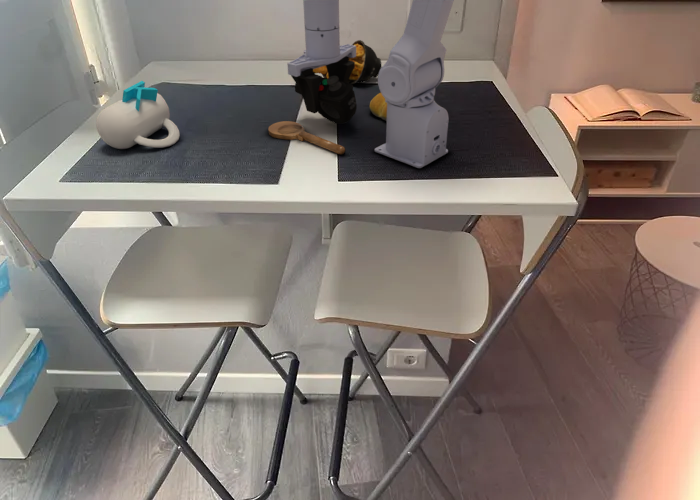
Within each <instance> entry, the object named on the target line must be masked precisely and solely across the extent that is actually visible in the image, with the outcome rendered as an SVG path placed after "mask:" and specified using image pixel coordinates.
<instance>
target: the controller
mask: <svg viewBox="0 0 700 500" xmlns="http://www.w3.org/2000/svg"><path fill="white" fill-rule="evenodd" d="M294 92H295V93H297V94H299V95H300V96H302V94H301V92H300V90H299V88H298V86H297V84H296V82H295V83H294ZM357 107H358V104H357V99H356V93H355V91H354V84H350V83H346V82H343V81H340V80H339V78H338V77H337V76H331V77H329V78H328V79H327V78H324V77H323V76H322V79H321V82H320V86H319V93H318V112H317V113H318V114H319V115H320V116H322V117H323V118H324V119H326V120H327V121H328V122H331V123H333V124H336V125H337V124H338V125H343V124H346V123H348V122H350V120H351V119H352V118H353V117H354V115H355V114H356V112H357Z"/></svg>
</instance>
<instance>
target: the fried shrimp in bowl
mask: <svg viewBox="0 0 700 500" xmlns="http://www.w3.org/2000/svg"><path fill="white" fill-rule="evenodd" d="M351 45H354V46H356V57H354V58H350V57H349V60H350V61H353V62H355V68H354V69H353V71H352V73H351V75H350V77H349V79H348V82H347V83H349V84H351V85H356V84H359V83H360V84H361V83H366V82H368V81H369V80H371V79H372V78H378V74H379V71H380V69H381V67H382V60H381V58H380V57H378V56H377V54H376V52H375V50H374V49H373V48H372V47H370V46H369V45H367V44H366V43H365V42H364V41H363V40H361V39H358V40H355V41H354V42H353V43H352V44H351ZM313 72H315V74H321V76H322V77H323V78H327V79H328V78H329V76H328V71H327V68H326V65H325V66H322V67H319V68H316V69H313Z"/></svg>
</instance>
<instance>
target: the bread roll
mask: <svg viewBox="0 0 700 500" xmlns="http://www.w3.org/2000/svg"><path fill="white" fill-rule="evenodd" d="M369 111H370V112H371V114H372V115H374V116H375V117H377V118H380V119H382V120H384V121H386V122H387V102H385V98H384V97H383V95H382V94H381V92H379V93H377V94H376V95H375V96H373V98H372V99H371V100H370V102H369Z"/></svg>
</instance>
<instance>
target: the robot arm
mask: <svg viewBox="0 0 700 500" xmlns="http://www.w3.org/2000/svg"><path fill="white" fill-rule="evenodd" d="M302 1H303V3H302V4H303V21H304V40H305V41H304V42H305V49H304V50H303V53H302V55H300V56H299V57H297V58H295V59H293V60H291V61H288V62H287V75H288V76H290V77H291V78H292V79H293V81H294V82H295V83H296V84H297V86H298V88H299V90H300V92H301V94H302V95H301V94H300V95H301V97H302V99H303V102H304V105H305V109H306V111H307V112H309V113H312V114H317V113H318V93H319V86H320V82H321V79H322V77H323V75H319V74H317V73H315V72H313V69H316V68H319V67H322V66H325V65H326V68H327V71H328V76H329V77H331V76H337V77H338V78H339V80H340V81H343V82H346V83H347V82H348V79H349V77H350V75H351V73H352V71H353V69H354V68H355V62H353V61H350V60H349V57H350V58H354V57H356V46H354V45H352V44H350V43H347V44H343V45H341V40H340V37H341V36H340V0H302ZM454 2H455V0H412V3H411V5H410V10H409V13H408V17H407V20H406V23H405V27H404V31H403V34H402V36H401V37H400V38H399V39H398V40H397V42H396V43H395V44H394V45H393V46H392V48H391V49H390V51H389V54H388V57H387V60H386V62H385V63H384V64H383V65H381V69H380V71H379V74H378V76H377V85H378V89H379V91H380V92H379V93H381V94H382V95H383V97H384V98H385V102H387V121H386V128H385V129H386V131H385V143H383V144H380V145H379V146H377V147H375V148H374V152H375V153H377V154H380V155H383V156H385V157H388V158H391V159H393V160H395V161H398V162H401V163H404V164H406V165H409V166H412V167H414V168H417V169H422V168H423V167H426V166H427V165H429V164H431V163H432V162H434V161H436V160H438V159H440V158H441V157H443V156H445V155H446V154H448V153H449V149H448V148H447V140H448V131H449V130H448V129H449V122H450V121H449V120H450V119H449V113H448V110H447V109H446V108H445V107H442V106H441V105H439V104H438V103H437V102H436V101H435V96H436V88H437V87H438V86H439V85H440V84H442V82H443V80H444V78H445V56H446V54H447V48H446V46H445V45H444V44H443V43H442V38H443V34H444V32H445V29H446V27H447V23H448V20H449V17H450V13H451V10H452V7H453V4H454Z"/></svg>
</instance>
